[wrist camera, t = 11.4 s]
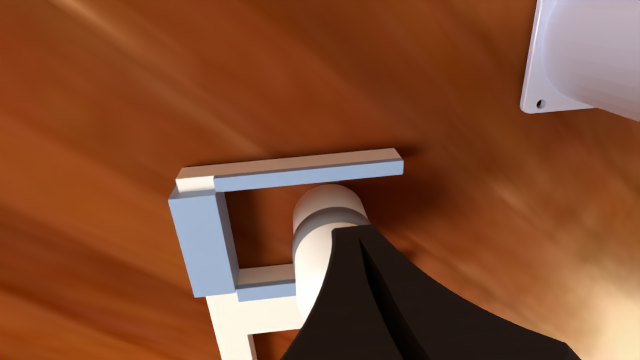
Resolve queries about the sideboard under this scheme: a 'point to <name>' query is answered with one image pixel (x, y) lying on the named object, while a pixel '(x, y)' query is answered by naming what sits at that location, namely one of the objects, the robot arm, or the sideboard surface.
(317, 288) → the banded white cylinder
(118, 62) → the sideboard surface
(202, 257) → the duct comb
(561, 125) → the sideboard surface
